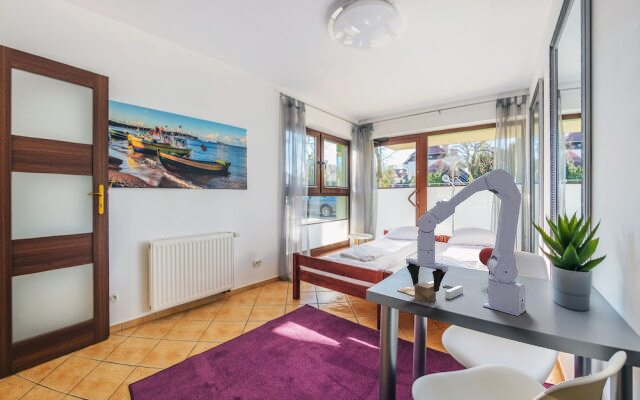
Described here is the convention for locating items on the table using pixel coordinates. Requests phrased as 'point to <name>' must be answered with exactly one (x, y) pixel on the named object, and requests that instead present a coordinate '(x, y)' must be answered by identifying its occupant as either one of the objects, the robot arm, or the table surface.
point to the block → (425, 292)
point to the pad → (407, 290)
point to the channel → (452, 291)
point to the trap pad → (448, 287)
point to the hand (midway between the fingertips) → (425, 288)
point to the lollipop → (485, 255)
